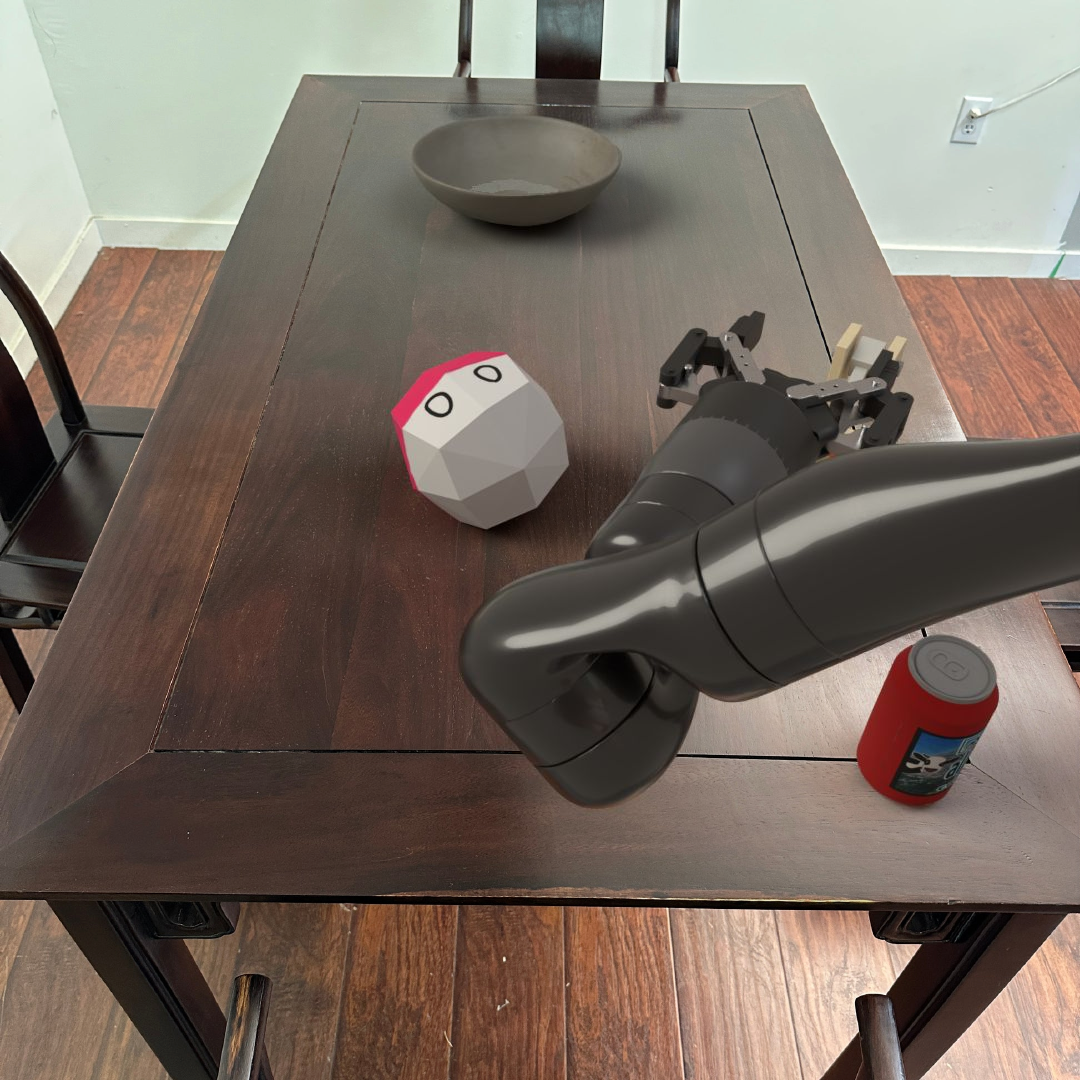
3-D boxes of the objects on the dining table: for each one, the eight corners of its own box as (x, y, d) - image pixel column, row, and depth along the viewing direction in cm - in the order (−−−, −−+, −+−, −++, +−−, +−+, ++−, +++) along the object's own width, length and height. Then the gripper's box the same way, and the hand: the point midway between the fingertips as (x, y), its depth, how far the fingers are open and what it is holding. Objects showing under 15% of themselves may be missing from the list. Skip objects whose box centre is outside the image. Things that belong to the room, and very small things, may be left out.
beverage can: (912, 830, 66) (969, 728, 58) (833, 764, 70) (876, 659, 62) (968, 776, 69) (1030, 672, 61) (889, 716, 73) (938, 610, 65)
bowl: (623, 258, 124) (629, 196, 118) (406, 255, 124) (400, 193, 118) (612, 170, 144) (616, 113, 138) (424, 167, 144) (420, 109, 138)
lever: (853, 472, 81) (857, 455, 79) (785, 448, 83) (787, 432, 81) (904, 366, 85) (909, 348, 83) (838, 346, 87) (841, 328, 85)
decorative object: (471, 301, 88) (560, 344, 77) (532, 425, 97) (619, 479, 86) (338, 396, 85) (411, 455, 74) (415, 515, 94) (489, 583, 83)
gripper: (867, 471, 47) (948, 323, 57) (610, 382, 52) (726, 260, 62) (832, 577, 52) (913, 424, 63) (601, 487, 58) (710, 359, 68)
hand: (819, 342), depth 63 cm, fingers open, 8 cm apart
